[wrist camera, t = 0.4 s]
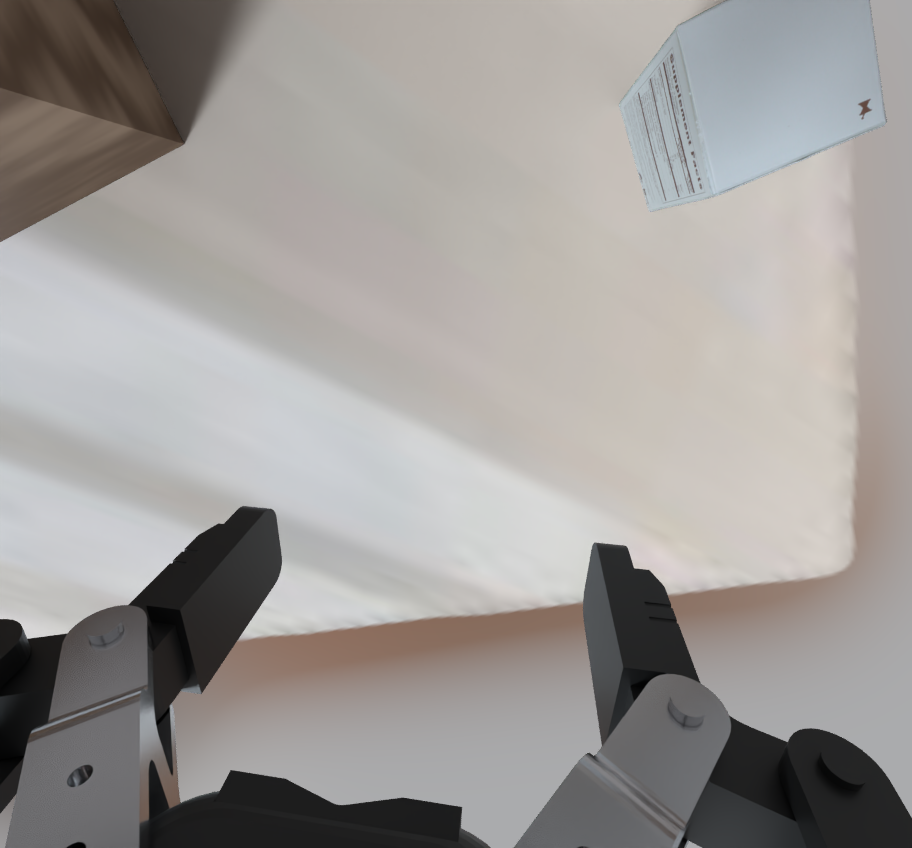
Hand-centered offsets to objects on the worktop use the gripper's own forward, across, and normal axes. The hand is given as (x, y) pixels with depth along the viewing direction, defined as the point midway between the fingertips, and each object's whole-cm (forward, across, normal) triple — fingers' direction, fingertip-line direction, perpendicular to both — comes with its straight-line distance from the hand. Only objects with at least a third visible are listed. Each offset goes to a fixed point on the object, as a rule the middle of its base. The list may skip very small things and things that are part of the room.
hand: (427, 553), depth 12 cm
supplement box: (+29, -12, -13) cm, 34 cm away
